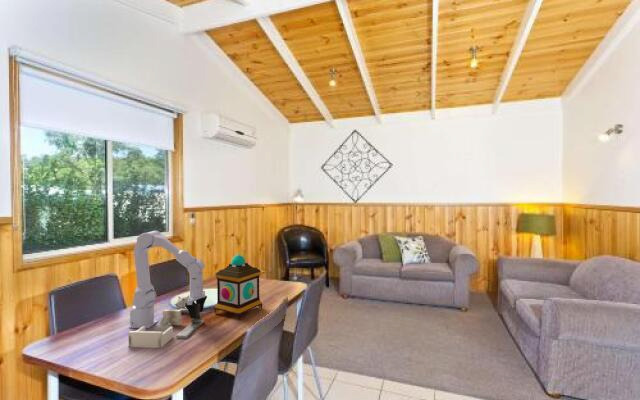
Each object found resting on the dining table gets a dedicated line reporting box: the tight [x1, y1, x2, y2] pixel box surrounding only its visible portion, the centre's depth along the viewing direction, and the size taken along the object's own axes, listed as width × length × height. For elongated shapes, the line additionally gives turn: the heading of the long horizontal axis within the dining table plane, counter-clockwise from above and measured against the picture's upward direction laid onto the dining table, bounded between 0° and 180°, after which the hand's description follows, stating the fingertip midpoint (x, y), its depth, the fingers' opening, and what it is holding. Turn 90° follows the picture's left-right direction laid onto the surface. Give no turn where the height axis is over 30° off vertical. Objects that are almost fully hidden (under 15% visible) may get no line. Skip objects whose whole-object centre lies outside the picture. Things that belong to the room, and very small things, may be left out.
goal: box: [127, 326, 174, 349], centre depth 129 cm, size 13×9×6 cm
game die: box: [174, 295, 190, 310], centre depth 163 cm, size 9×8×10 cm
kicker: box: [162, 304, 203, 326], centre depth 147 cm, size 17×4×9 cm, turn 87°
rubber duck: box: [157, 315, 172, 332], centre depth 139 cm, size 5×7×8 cm
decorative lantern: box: [214, 254, 263, 321], centre depth 162 cm, size 20×20×30 cm
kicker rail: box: [176, 319, 205, 339], centre depth 141 cm, size 4×17×1 cm, turn 177°
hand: (196, 314), depth 147 cm, fingers open, 7 cm apart
